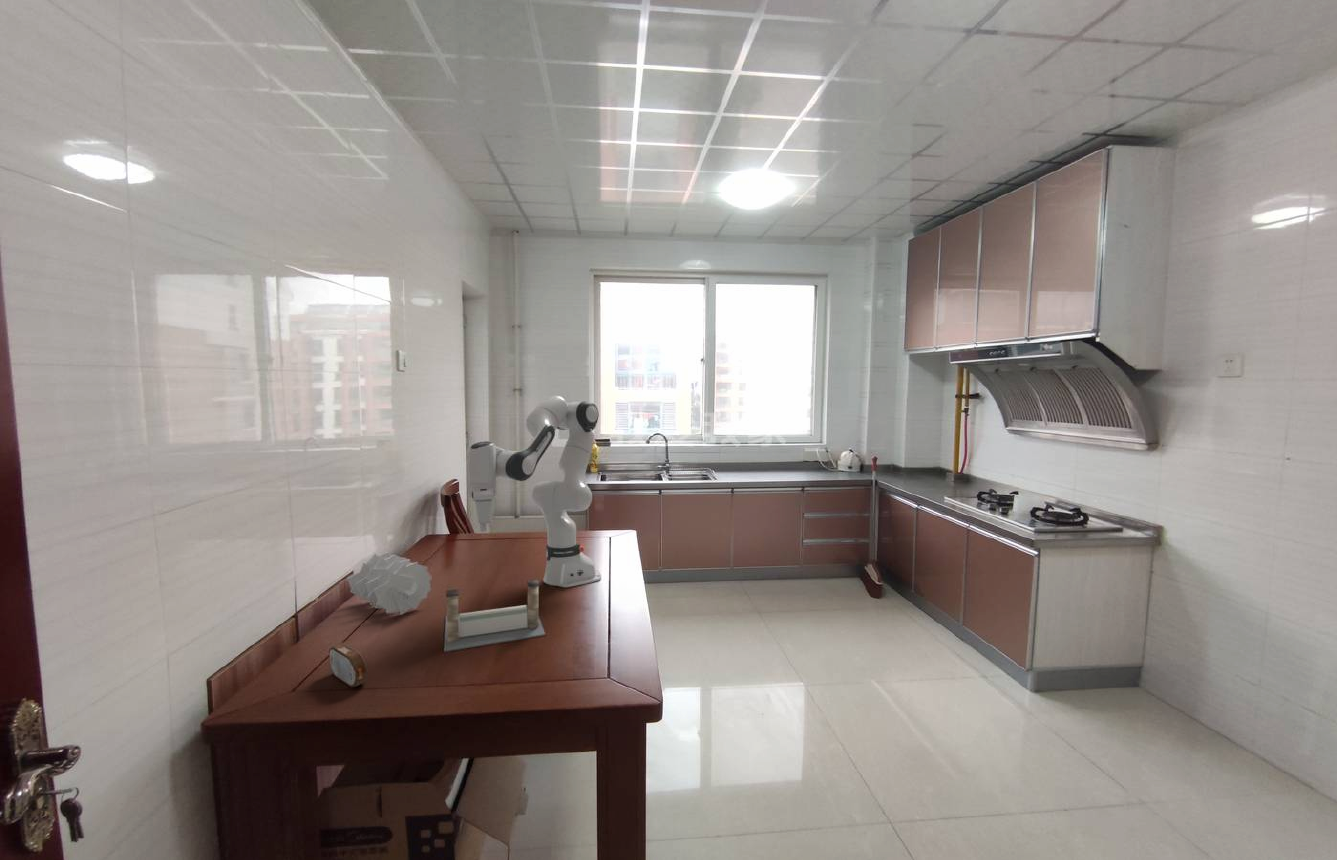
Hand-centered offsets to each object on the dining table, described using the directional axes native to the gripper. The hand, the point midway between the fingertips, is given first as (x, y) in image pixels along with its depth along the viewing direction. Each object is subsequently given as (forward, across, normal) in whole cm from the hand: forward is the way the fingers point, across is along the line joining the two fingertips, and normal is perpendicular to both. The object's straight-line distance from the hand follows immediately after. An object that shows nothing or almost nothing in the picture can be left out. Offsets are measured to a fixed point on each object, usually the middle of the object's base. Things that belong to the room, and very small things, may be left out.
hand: (483, 530), depth 172 cm
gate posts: (+27, +22, +2) cm, 35 cm away
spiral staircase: (+27, -12, -29) cm, 41 cm away
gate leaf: (+26, +22, +2) cm, 34 cm away
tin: (+27, +35, -34) cm, 56 cm away
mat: (+27, +16, +2) cm, 31 cm away
